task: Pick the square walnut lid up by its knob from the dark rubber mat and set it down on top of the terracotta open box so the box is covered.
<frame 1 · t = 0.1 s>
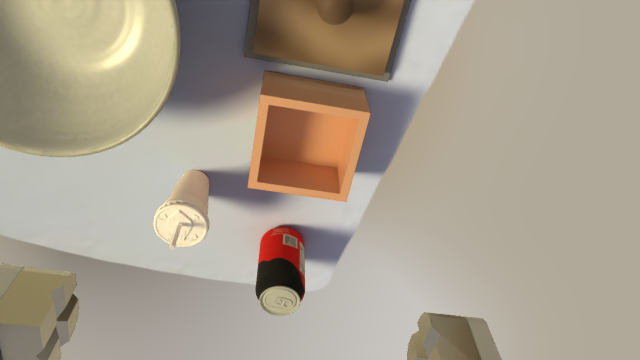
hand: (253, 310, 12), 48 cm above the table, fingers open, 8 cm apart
terracotta open box: (305, 124, 62), on the table
beverage can: (282, 239, 73), on the table
smoothie: (195, 181, 67), on the table
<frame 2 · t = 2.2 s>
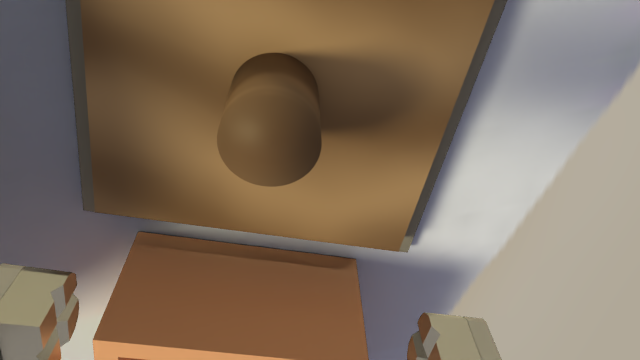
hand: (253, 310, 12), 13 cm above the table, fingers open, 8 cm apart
terracotta open box: (238, 317, 31), on the table
walnut lid: (276, 83, 21), point 1 cm above the table, touching rubber mat
rubber mat: (276, 77, 22), on the table
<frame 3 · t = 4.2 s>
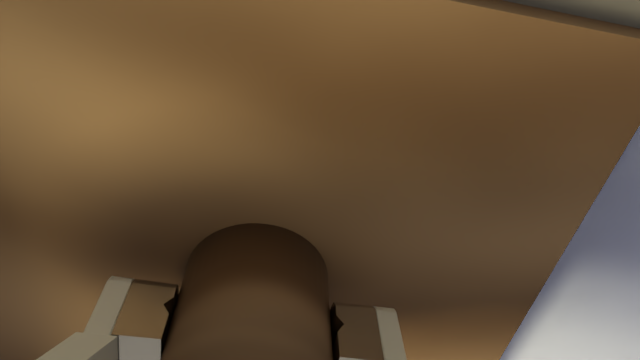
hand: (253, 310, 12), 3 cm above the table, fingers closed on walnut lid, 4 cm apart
walnut lid: (260, 248, 14), point 1 cm above the table, touching gripper, rubber mat
rubber mat: (262, 234, 14), on the table
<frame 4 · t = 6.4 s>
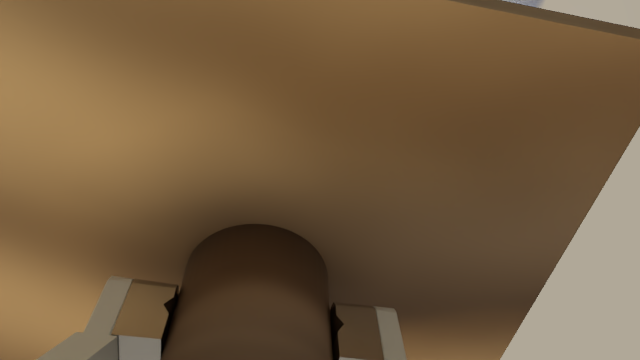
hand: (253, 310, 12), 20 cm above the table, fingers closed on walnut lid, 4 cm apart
walnut lid: (260, 248, 14), point 18 cm above the table, touching gripper
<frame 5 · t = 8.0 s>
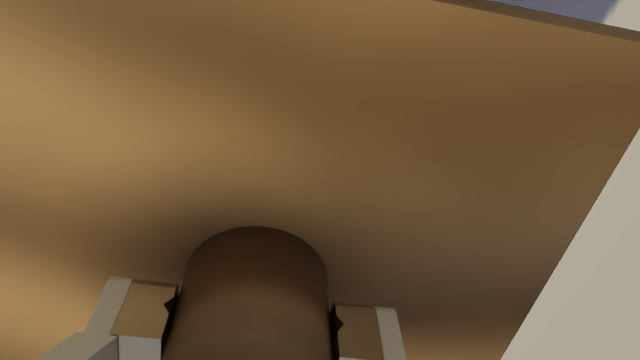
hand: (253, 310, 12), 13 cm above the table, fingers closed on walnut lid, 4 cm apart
walnut lid: (260, 250, 14), point 11 cm above the table, touching gripper
when the fingers open (11 cm above the table, at t = 9.1 s): walnut lid drops 1 cm, resting on terracotta open box.
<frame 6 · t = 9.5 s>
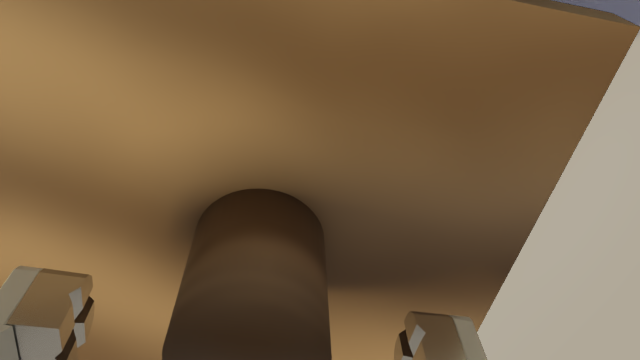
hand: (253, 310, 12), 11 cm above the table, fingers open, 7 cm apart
walnut lid: (263, 215, 15), point 7 cm above the table, touching terracotta open box
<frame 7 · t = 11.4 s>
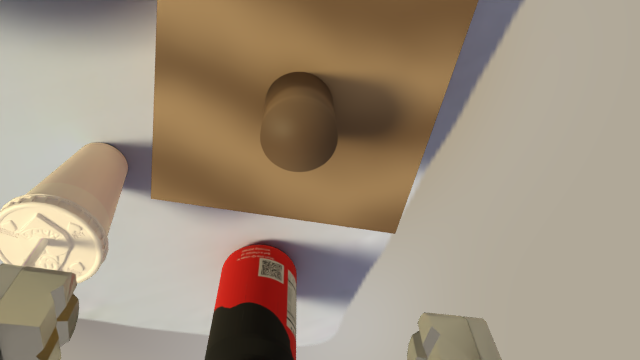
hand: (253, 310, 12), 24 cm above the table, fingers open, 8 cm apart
walnut lid: (299, 95, 27), point 7 cm above the table, touching terracotta open box
beverage can: (260, 264, 43), on the table
smoothie: (103, 163, 37), on the table
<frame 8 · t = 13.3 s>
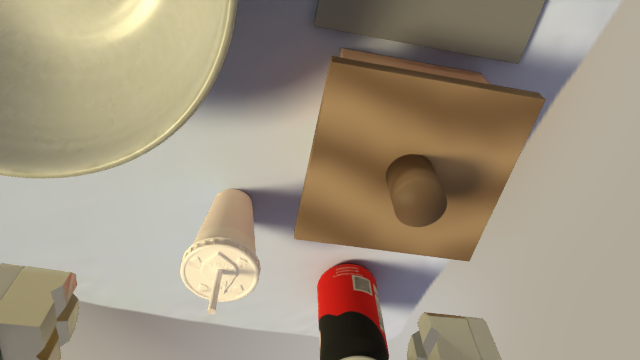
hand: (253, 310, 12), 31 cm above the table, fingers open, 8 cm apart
terracotta open box: (392, 125, 44), on the table
walnut lid: (406, 166, 38), point 7 cm above the table, touching terracotta open box
beverage can: (345, 278, 54), on the table
smoothie: (233, 203, 48), on the table
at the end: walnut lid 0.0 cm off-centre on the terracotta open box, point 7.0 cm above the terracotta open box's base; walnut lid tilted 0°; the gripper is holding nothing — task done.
